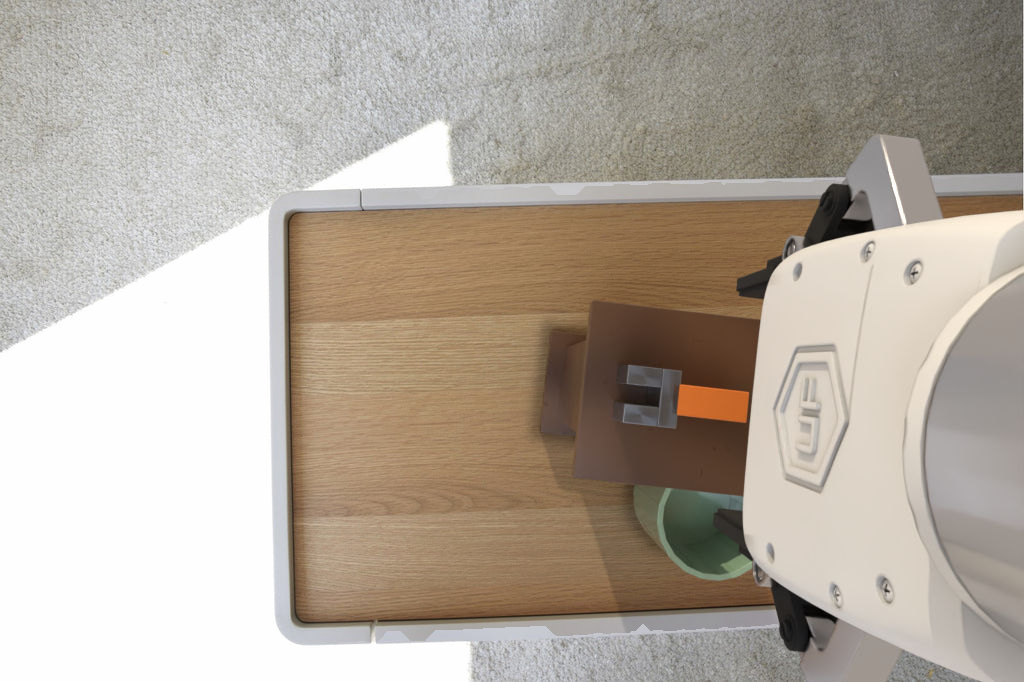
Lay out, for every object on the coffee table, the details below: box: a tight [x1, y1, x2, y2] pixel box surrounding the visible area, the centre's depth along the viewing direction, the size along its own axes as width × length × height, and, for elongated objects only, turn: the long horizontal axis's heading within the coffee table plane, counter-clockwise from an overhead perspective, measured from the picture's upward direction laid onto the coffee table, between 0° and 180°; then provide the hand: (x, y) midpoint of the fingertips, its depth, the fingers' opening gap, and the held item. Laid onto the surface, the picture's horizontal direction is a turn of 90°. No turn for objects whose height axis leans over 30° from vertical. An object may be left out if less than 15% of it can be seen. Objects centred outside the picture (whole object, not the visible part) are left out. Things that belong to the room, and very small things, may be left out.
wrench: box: [612, 365, 749, 429], centre depth 35 cm, size 6×3×3 cm, turn 84°
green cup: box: [632, 485, 752, 582], centre depth 60 cm, size 10×10×10 cm
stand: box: [538, 299, 761, 497], centre depth 51 cm, size 10×10×29 cm
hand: (760, 405), depth 28 cm, fingers open, 9 cm apart
